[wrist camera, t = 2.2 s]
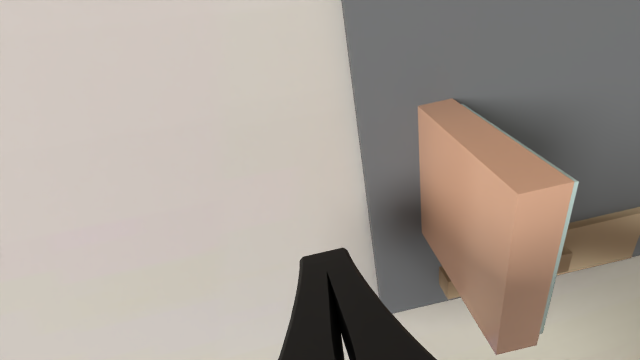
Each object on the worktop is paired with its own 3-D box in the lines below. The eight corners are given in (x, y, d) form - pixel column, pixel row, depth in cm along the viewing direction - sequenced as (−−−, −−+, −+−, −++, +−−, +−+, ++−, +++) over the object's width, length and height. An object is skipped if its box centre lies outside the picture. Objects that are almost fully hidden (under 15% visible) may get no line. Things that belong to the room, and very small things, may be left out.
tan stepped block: (624, 252, 19) (641, 266, 18) (439, 296, 19) (447, 312, 18) (641, 206, 17) (660, 218, 16) (439, 253, 17) (448, 268, 16)
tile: (456, 224, 16) (545, 343, 11) (421, 232, 16) (495, 354, 11) (460, 96, 13) (587, 178, 8) (417, 105, 13) (518, 194, 8)
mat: (633, 250, 20) (639, 255, 19) (380, 309, 19) (383, 315, 19) (776, -131, 11) (792, -135, 11) (336, -42, 11) (338, -43, 10)
